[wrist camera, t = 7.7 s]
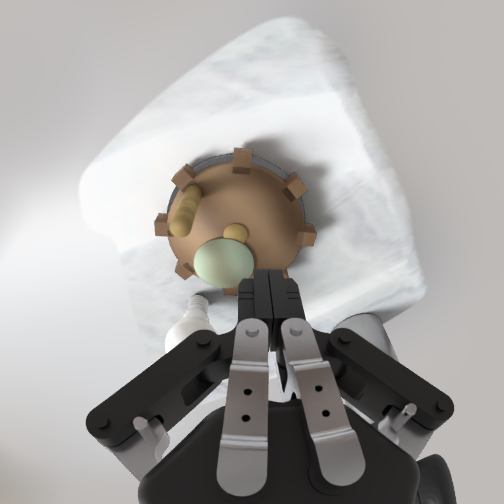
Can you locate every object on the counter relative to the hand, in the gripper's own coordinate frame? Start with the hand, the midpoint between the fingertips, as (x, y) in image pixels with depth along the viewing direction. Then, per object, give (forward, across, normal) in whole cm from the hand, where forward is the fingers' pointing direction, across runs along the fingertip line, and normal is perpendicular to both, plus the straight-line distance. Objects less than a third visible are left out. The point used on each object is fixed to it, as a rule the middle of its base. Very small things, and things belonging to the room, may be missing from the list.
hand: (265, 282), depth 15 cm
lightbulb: (+17, +7, +16) cm, 24 cm away
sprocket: (+16, +2, +4) cm, 17 cm away
